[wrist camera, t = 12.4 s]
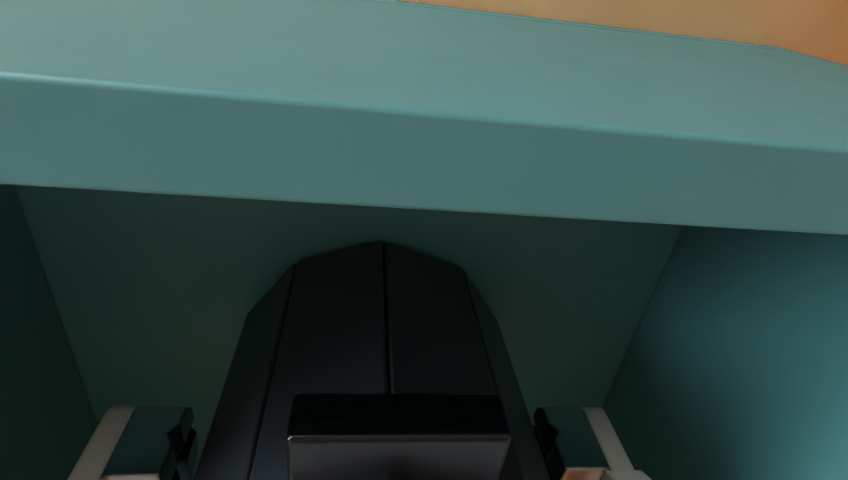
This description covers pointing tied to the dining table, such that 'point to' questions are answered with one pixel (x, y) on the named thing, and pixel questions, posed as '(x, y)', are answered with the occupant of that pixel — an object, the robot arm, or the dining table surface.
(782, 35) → the dining table surface
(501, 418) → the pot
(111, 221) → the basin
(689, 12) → the dining table surface
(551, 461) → the robot arm
